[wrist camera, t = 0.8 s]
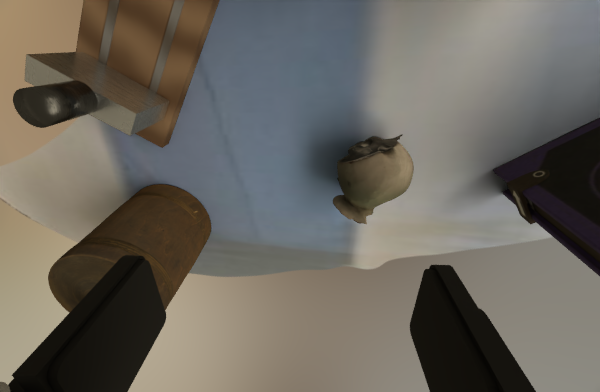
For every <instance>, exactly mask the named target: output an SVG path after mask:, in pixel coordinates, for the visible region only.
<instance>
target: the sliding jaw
mask: <svg viewBox="0 0 600 392" xmlns="http://www.w3.org/2000/svg"><path fill="white" fill-rule="evenodd" d="M25 81H26V82H28V83H30V84H32V85H34V87H28V88H22V89H19V90H17V91H16V92H15V94H14V96H13V103H14V106H15V108H16V110H17V112H18V113H19V115H20V116H21V117H22V118H23V119H24V120H25V121H27V122H28V123H29V124H31V125H33V126H36V127H40V128H44V127H48V126H51V125H54V124H58V123H61V122H64V121H67V120H70V119H74V118H77V117H80V116H83V115H87V114H89V115H91V116H93V117H95V118H97V119H99V120H101V121H103V122H105V123H107V124H109V125H110V126H112V127H114V128H116V129H118V130H120V131H122V132H124V133H126V134H128V135H130V136H131V135H133V134H135V133H137V132H139V131H141V130H143V129H145V128H147V127H149V126H151V125H153V124H155V123H157V122H159V121H161V120H163V119H164V116H165V113H166V110H167V107H168V104H169V100H167V99H165V98H164V97H162V96H160V95H158V94H157V93H155V92H153V91H151V90H149V89H148V88H146V87H144V86H142V85H141V84H139V83H137V82H135V81H133V80H132V79H130V78H128V77H126V76H125V75H123V74H121V73H119V72H117V71H116V70H114V69H112V68H110V67H109V66H107V65H105V64H103V63H101V62H100V61H98V60H96V59H94V58H93V57H91V56H89V55H87V54H85V53H84V52H70V53H49V54H48V53H47V54H27V55H26V68H25Z"/></svg>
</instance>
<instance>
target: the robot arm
mask: <svg viewBox="0 0 600 392" xmlns="http://www.w3.org/2000/svg"><path fill="white" fill-rule="evenodd" d="M165 320H166V312H165V309H164V306H163V303H162V299H161V296H160V293H159V290H158V287H157V284H156V281H155V278H154V275H153V271H152V268H151V265H150V263H149V261H148V260H146V259H145V257H143V256H135V255H125V256H122V257H121V258H120V259H119V260H118V261H117V262H116V263H115V265H114V266H113V267H112V268H111V269H110V270H109V271H108V272H107V273H106V274H105V275H104V276H103V277H102V279H101V280H100V281H99V282H98V283H97V284H96V285H95V286H94V287H93V288H92V289H91V290H90V291H89V293H88V294H87V295H86V296H85V297H84V298H83V299H82V300H81V301H80V302H79V303H78V304H77V305H76V307H75V308H74V309H73V310H72V311H71V312H70V313H69V314H68V315H67V316H66V317H65V318H64V320H63V321H62V322H61V323H60V324H59V325H58V326H57V327H56V328H55V329H54V330H53V331H52V332H51V334H50V335H49V336H48V337H47V338H46V339H45V340H44V341H43V342H42V343H41V344H40V345H39V346H38V348H37V349H36V350H35V351H34V352H33V353H32V354H31V355H30V356H29V357H28V358H27V360H26V361H25V362H24V363H23V364H22V365H21V366H20V367H19V368H18V369H17V370H16V371H15V372H14V373H13V375H12V376H13V377H14V379H13V380H12V381H11V382H10V383H9V385H7V384H6V383H4V382H0V392H127V391H128V390H129V388H130V386H131V384H132V382H133V380H134V378H135V377H136V375H137V373H138V371H139V369H140V368H141V366H142V364H143V362H144V360H145V358H146V357H147V355H148V353H149V351H150V349H151V348H152V346H153V344H154V342H155V340H156V338H157V337H158V335H159V333H160V331H161V329H162V327H163V326H164V323H165ZM410 332H411V336H412V339H413V342H414V345H415V348H416V351H417V354H418V357H419V360H420V363H421V366H422V369H423V372H424V374H425V378H426V381H427V384H428V387H429V390H430V392H536V391H535V390H534V388H533V386H532V385H531V383H530V382H529V380H528V379H527V377H526V376H525V374H524V373H523V371H522V370H521V368H520V367H519V365H518V363H517V362H516V360H515V358H514V357H513V355H512V354H511V352H510V351H509V349H508V348H507V346H506V345H505V343H504V341H503V340H502V338H501V337H500V335H499V333H498V332H497V330H496V329H495V327H494V326H493V324H492V323H491V321H490V319H489V318H488V317H487V315H486V314H485V313H484V311H482V310H481V309H479V308H478V307H477V305H476V304H475V302H474V301H473V299H472V297H471V296H470V294H469V293H468V291H467V289H466V288H465V286H464V285H463V283H462V281H461V280H460V278H459V277H458V275H457V273H456V272H455V271H454V269H453V267H451V266H450V265H431V266H430V268H429V269H425V271H424V273H423V277H422V281H421V285H420V288H419V292H418V296H417V300H416V304H415V307H414V311H413V314H412V318H411V322H410Z"/></svg>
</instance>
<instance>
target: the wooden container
mask: <svg viewBox="0 0 600 392" xmlns="http://www.w3.org/2000/svg"><path fill="white" fill-rule="evenodd" d="M210 232H211V222H210V218H209V215H208V213H207V211H206V209H205V208H204V207H203V205H202V204H201V203H200V202H199V201H198V200H197V199H196V198H195V197H194V196H192V195H191V194H189V193H188V192H186V191H184V190H182V189H180V188H177V187H174V186H170V185H163V184H159V185H151V186H147V187H145V188H143V189H141V190H140V191H139V192H137V193H136V194H135V195H134V196H133V197H131V198H130V199H129V200H128V201H126V202H125V203H124V204H123V205H122V206H120V207H119V208H118V209H117V210H116V211H114V212H113V213H112V214H111V215H110V216H109V217H108V218H106V219H105V220H104V221H103V222H102V223H101V224H100V225H99V226H98V227H96V228H95V229H94V230H93V231H92V232H91V233H90V234H88V235H87V236H86V237H85V238H84V239H83V240H81V241H80V242H79V243H78V244H77V245H75V246H74V247H73V248H71V249H70V250H69V251H68V252H66V253H65V254H64V255H63V256H62V257H61V258H60V259H59V260H57V262H55V264H54V265H53V266H52V267H51V269H50V272H49V276H48V280H49V286H50V289H51V291H52V293H53V295H54V297H55V298H56V299H57V301H58V302H59V303H60V304H61V305H62V306H63V307H64V308H65V309H66V310H67V311H68V312H71V311H72V310H73V309H74V308H75V307H76V305H77V304H78V303H79V302H80V301H81V300H82V299H83V298H84V297H85V296H86V295H87V294H88V293H89V291H90V290H91V289H92V288H93V287H94V286H95V285H96V284H97V283H98V282H99V281H100V280H101V279H102V277H103V276H104V275H105V274H106V273H107V272H108V271H109V270H110V269H111V268H112V267H113V266H114V265H115V263H116V262H117V261H118V260H119V259H120V258H121V257H122V256H125V255H135V256H143V257H145V259H146V260H148V261H149V263H150V265H151V268H152V271H153V275H154V278H155V281H156V284H157V287H158V290H159V293H160V296H161V299H162V303H163V306H164V309H165V310H166V308H167V306H168V304H169V303H170V301H171V300H172V298H173V297H174V295H175V294H176V292H177V290H178V289H179V287H180V285H181V284H182V282H183V280H184V279H185V277H186V276H187V274H188V273H189V271H190V270H191V268H192V266H193V265H194V263H195V261H196V260H197V258H198V256H199V254H200V252H201V250H202V249H203V247H204V245H205V243H206V242H207V240H208V238H209V236H210Z"/></svg>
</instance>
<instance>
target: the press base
mask: <svg viewBox="0 0 600 392" xmlns="http://www.w3.org/2000/svg"><path fill="white" fill-rule="evenodd" d="M218 3H219V0H84V2H83V8H82V15H81V22H80V28H79V34H78V41H77V48H76V52H84V53H85V54H87V55H89V56H91V57H93V58H94V59H96V60H98V61H100V62H101V63H103V64H105V65H107V66H109V67H110V68H112V69H114V70H116V71H117V72H119V73H121V74H123V75H125V76H126V77H128V78H130V79H132V80H133V81H135V82H137V83H139V84H141V85H142V86H144V87H146V88H148V89H149V90H151V91H153V92H155V93H157V94H158V95H160V96H162V97H164V98H165V99H167V100H169V104H168V107H167V110H166V113H165V116H164V119H163V120H161V121H159V122H157V123H155V124H153V125H151V126H149V127H147V128H145V129H143V130H141V131H139V132H137V133H135V134H137V135H139V136H141V137H143V138H145V139H146V140H148V141H150V142H152V143H154V144H156V145H158V146H160V147H162V148H163V147H164V146H166V145H167V144H169V141H170V138H171V135H172V132H173V130H174V127H175V124H176V121H177V118H178V115H179V113H180V110H181V107H182V104H183V101H184V99H185V96H186V93H187V90H188V87H189V85H190V82H191V79H192V76H193V73H194V70H195V68H196V65H197V62H198V59H199V56H200V54H201V51H202V48H203V45H204V42H205V40H206V37H207V34H208V31H209V28H210V25H211V23H212V20H213V17H214V14H215V11H216V9H217V6H218Z"/></svg>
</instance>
